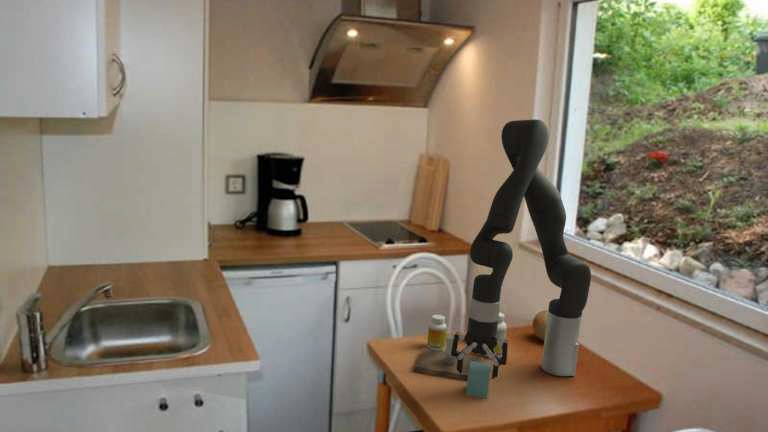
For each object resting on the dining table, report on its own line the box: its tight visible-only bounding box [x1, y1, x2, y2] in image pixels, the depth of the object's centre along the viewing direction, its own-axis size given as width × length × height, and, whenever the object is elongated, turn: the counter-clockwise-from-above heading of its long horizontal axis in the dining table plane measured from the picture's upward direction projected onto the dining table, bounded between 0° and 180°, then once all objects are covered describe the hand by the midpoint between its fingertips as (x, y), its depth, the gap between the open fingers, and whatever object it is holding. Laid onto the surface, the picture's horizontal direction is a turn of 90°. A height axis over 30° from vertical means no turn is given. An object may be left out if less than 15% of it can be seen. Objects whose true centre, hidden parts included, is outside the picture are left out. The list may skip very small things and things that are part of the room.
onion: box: [531, 309, 548, 342], centre depth 208 cm, size 10×10×10 cm
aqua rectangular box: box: [465, 361, 492, 399], centre depth 168 cm, size 5×5×7 cm
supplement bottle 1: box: [426, 314, 448, 351], centre depth 196 cm, size 5×5×10 cm
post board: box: [413, 347, 485, 381], centre depth 183 cm, size 18×14×2 cm
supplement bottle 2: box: [483, 311, 508, 359], centre depth 193 cm, size 7×7×13 cm
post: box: [445, 334, 456, 365], centre depth 182 cm, size 3×3×8 cm
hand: (476, 375), depth 168 cm, fingers open, 8 cm apart
